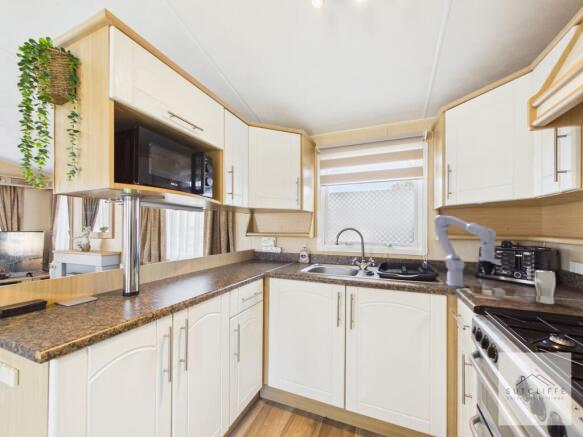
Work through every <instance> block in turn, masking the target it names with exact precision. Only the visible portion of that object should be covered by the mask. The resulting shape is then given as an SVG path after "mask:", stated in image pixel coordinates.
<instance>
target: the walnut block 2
mask: <svg viewBox="0 0 583 437" xmlns="http://www.w3.org/2000/svg"><path fill="white" fill-rule="evenodd" d="M500 289H502V290H504V291H505V296H515V295H516V293H515V290H516V289H515V288H514V287H512V286H504V285H501V286H500Z"/></svg>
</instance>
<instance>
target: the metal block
mask: <svg viewBox="0 0 583 437" xmlns="http://www.w3.org/2000/svg"><path fill="white" fill-rule="evenodd" d="M491 290H492V296H493V297H494V298H499V299H505V291H504V290H502V289H501V288H496V287H495V288H493V287H492V288H491Z"/></svg>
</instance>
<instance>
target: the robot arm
mask: <svg viewBox="0 0 583 437" xmlns="http://www.w3.org/2000/svg"><path fill="white" fill-rule="evenodd" d="M433 223H434V232H435V234H436V235H435V236H436V237H437V239H438V240H439V244H440V246H441V248H442V250H443V251H444V252H443V253H444V254H445V259H444V260H445V267H446V268H447V270H448V271H447V274H446V280H447V281H445V283H446V284H447V285H448V286H450V287H451V286H452V287H459V288H460V287H461V288H466V286H465V285H464V284H463V281H464V280H463V279H464V278H463V273H464V272H463V270H464V269H465V267H466V264H465V262H464V261H463V260H462V258H461V257H460V256H459V255H458V254H457V253H456V251H455V249H454V247H453V244H452V242H451V240H450V239H449V236H448V234H447V232H446V230H448V228H449V227H450V226H451V225H456V226H458V227H461V228H464V229H465V230H466V231H467V232H468V233H470V234H472V235H474V236H478V237H479V238H480V241H481V242H480V249H481V250H480V252H481V253H480V255H481V256H476V261H480V262H479V264H480V265H481V266H482V269H483V271H484V275H485V276H488V277H489V276H490V277H491V276H492V272H493V270H494V268H495V267H496V265H501V260H499V259H496V258H495V252H496V251H495V249H496V248H495V239H496V237H497V232H496V231H495V230H494V229H492V228H488V227H487V226H482V225H479V224H478V223H477V222H470V223H468V222H466V221H464V220H462V219H459V218H457V217H455V216H451V215H441V214H439V215H436V217H435V218H434V220H433Z"/></svg>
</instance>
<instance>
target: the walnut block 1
mask: <svg viewBox="0 0 583 437" xmlns="http://www.w3.org/2000/svg"><path fill="white" fill-rule="evenodd" d="M469 287H470V291H471V292H473V293H480V294H482V289H483V285H481V284H478V283H470V286H469Z"/></svg>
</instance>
